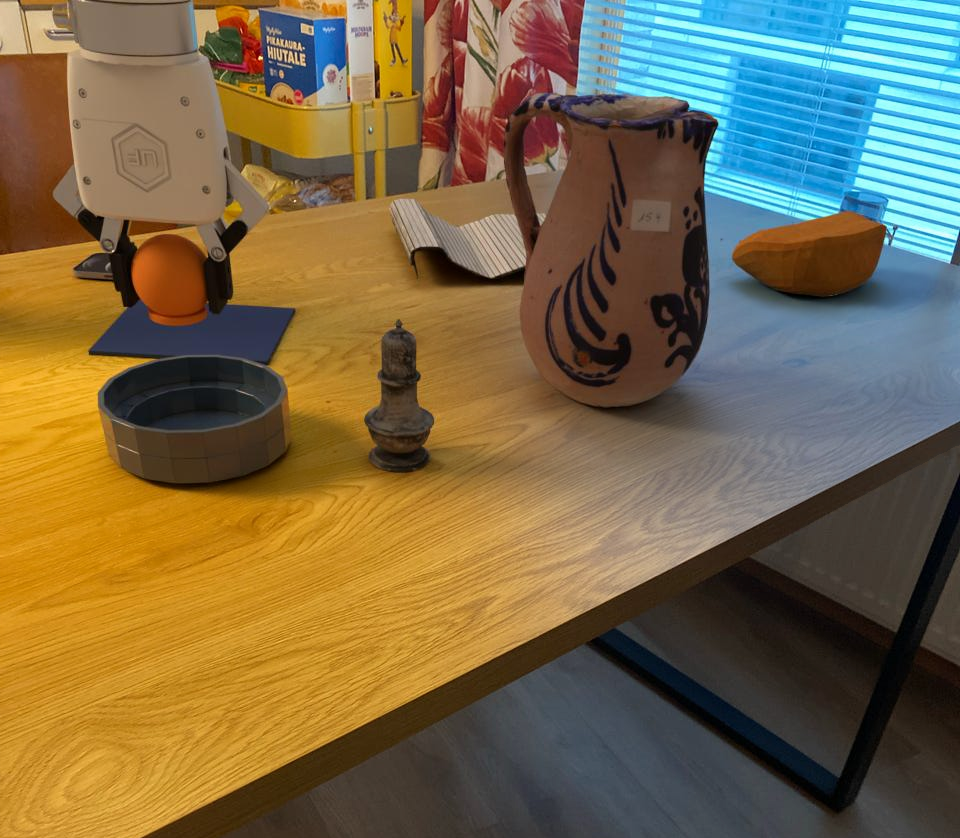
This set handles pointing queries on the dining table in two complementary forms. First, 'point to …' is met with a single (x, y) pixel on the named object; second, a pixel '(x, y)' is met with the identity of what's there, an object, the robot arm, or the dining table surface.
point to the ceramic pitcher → (615, 245)
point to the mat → (462, 239)
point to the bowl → (195, 418)
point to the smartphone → (94, 267)
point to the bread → (814, 254)
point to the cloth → (198, 334)
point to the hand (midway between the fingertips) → (176, 302)
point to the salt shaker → (399, 408)
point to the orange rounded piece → (171, 279)
